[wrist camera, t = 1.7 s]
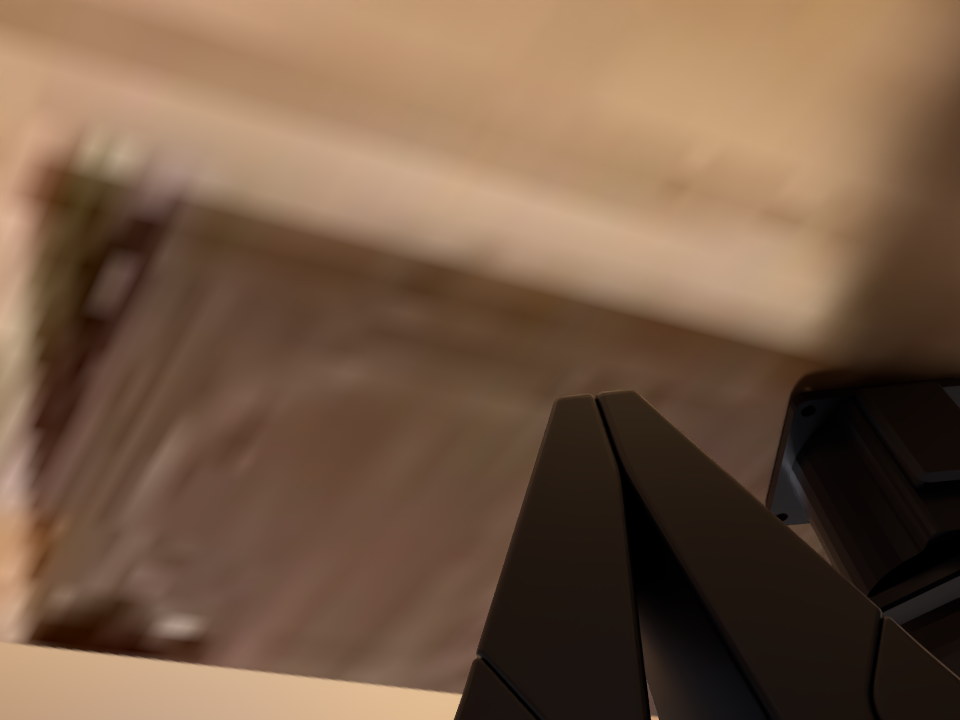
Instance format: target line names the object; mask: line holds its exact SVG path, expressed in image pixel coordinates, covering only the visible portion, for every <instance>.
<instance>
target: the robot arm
mask: <svg viewBox="0 0 960 720" xmlns="http://www.w3.org/2000/svg"><path fill="white" fill-rule="evenodd" d="M806 406H809V407H807V408H805V407H806ZM803 408H805V409H803ZM806 523H811V525H812V527H813V529H814V531H815V533H816V535H817V537H818V539H819V541H820V543H821V545H822V546H823V548H824V550H825V552H826V554H827V556H828V558H829V560H830V562H831V564H832V565H831V564H829V563H828V562H827V561H826V560H825V559H824V558H823V557H822V556H820V555H819V554H818V553H817V552H816V551H815V550H814V549H813V548H812V547H810V546H809V545H808V544H807V543H806V542H805V541H804V540H803V539H801V538H800V537H799V536H798V535H797V534H796V533H795V532H794V531H792V530H791V529H790V528H789V527H788V526H787V525H796V524H806ZM476 655H477V659H475V660H474V661H473V663H472V666H471V669H470V672H469V676H468V679H467V682H466V685H465V688H464V692H463V695H462V698H461V701H460V704H459V707H458V709H457V712H456V715H455V718H454V720H651V716H650V707H649V699H648V690H647V683H648V686H649V690H650V693H651V696H652V699H653V702H654V705H655V709H656V712H657V715H658V718H659V720H960V378H951V379H941V380H930V381H920V382H909V383H899V384H888V385H878V386H868V387H857V388H847V389H836V390H826V391H815V392H806V393H802V394H799V395H798V396H796V397H795V398H794V399H793V400H792V401H791V403H790V405H789V409H788V413H787V418H786V422H785V426H784V431H783V435H782V439H781V443H780V448H779V452H778V456H777V460H776V465H775V469H774V473H773V478H772V482H771V486H770V490H769V495H768V499H767V503H766V506H764V505H763V504H762V503H761V502H760V501H759V500H758V499H757V498H755V497H754V496H753V495H752V494H751V493H750V492H749V491H748V490H747V489H745V488H744V487H743V486H742V485H741V484H740V483H739V482H738V481H736V480H735V479H734V478H733V477H732V476H731V475H730V474H729V473H727V472H726V471H725V470H724V469H723V468H722V467H721V466H720V465H719V464H717V463H716V462H715V461H714V460H713V459H712V458H711V457H710V456H708V455H707V454H706V453H705V452H704V451H703V450H702V449H701V448H699V447H698V446H697V445H696V444H695V443H694V442H693V441H692V440H690V439H689V438H688V437H687V436H686V435H685V434H684V433H683V432H682V431H680V430H679V429H678V428H677V427H676V426H675V425H674V424H673V423H671V422H670V421H669V420H668V419H667V418H666V417H665V416H664V415H662V414H661V413H660V412H659V411H658V410H657V409H656V408H655V407H654V406H652V405H651V404H650V403H649V402H648V401H647V400H646V399H645V398H643V397H642V396H641V395H640V394H639V393H638V392H636V391H634V390H632V389H623V390H614V391H605V392H600V393H598V394H597V395H596V397H594V396H593V395H591V394H588V393H586V394H577V395H568V396H560V397H558V398H557V399H556V400H555V402H554V404H553V408H552V411H551V414H550V417H549V421H548V424H547V427H546V430H545V433H544V437H543V440H542V443H541V446H540V449H539V453H538V456H537V459H536V462H535V465H534V469H533V472H532V475H531V478H530V482H529V485H528V488H527V491H526V494H525V498H524V501H523V504H522V507H521V510H520V514H519V517H518V520H517V523H516V526H515V530H514V533H513V536H512V539H511V542H510V546H509V549H508V552H507V555H506V559H505V562H504V565H503V568H502V571H501V575H500V578H499V581H498V584H497V587H496V591H495V594H494V597H493V600H492V603H491V607H490V610H489V613H488V616H487V620H486V623H485V626H484V629H483V632H482V636H481V639H480V642H479V645H478V648H477V652H476ZM646 680H647V682H646Z"/></svg>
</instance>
